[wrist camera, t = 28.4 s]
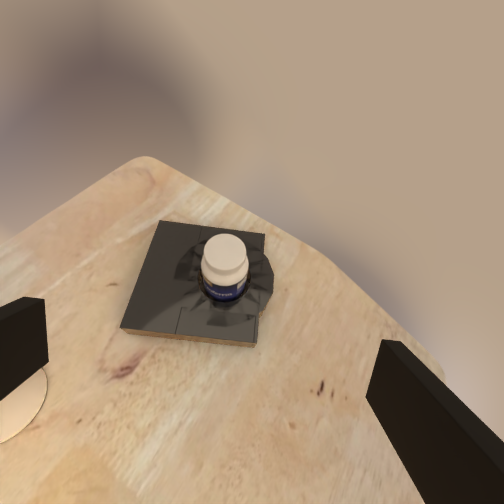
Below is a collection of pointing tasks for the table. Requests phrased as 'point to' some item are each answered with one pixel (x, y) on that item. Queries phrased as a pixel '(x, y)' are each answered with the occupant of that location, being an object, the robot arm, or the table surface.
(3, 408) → the cup
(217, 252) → the pill bottle
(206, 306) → the bottle holder base
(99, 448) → the table surface
